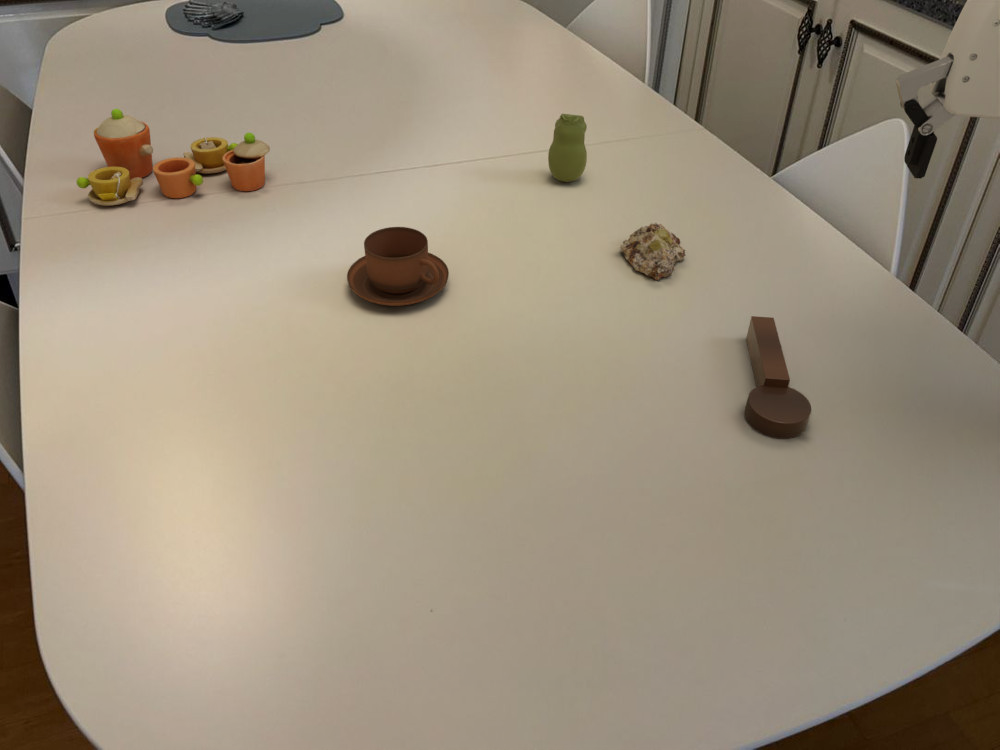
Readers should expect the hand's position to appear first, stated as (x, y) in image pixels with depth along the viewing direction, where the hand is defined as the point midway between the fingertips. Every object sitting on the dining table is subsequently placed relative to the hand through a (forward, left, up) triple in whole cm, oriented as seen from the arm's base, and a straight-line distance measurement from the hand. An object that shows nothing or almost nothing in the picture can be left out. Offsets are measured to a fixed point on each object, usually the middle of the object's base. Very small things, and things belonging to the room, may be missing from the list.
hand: (969, 175), depth 77 cm
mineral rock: (+32, -2, -22) cm, 39 cm away
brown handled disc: (+9, +12, -22) cm, 27 cm away
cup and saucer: (+51, +24, -22) cm, 61 cm away
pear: (+54, -13, -22) cm, 60 cm away
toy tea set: (+95, +25, -22) cm, 101 cm away
